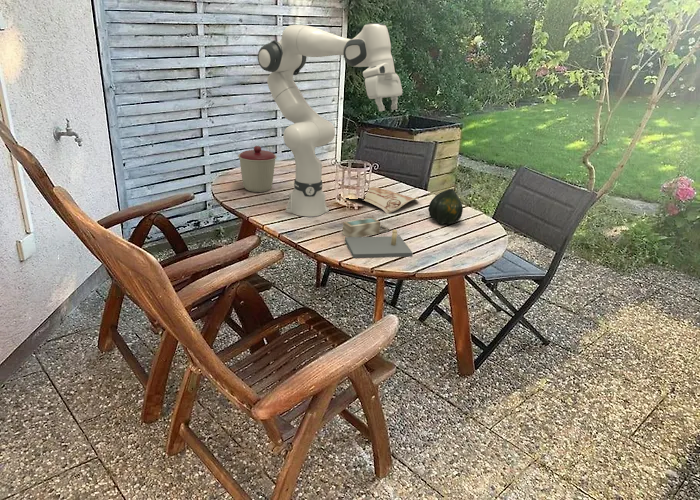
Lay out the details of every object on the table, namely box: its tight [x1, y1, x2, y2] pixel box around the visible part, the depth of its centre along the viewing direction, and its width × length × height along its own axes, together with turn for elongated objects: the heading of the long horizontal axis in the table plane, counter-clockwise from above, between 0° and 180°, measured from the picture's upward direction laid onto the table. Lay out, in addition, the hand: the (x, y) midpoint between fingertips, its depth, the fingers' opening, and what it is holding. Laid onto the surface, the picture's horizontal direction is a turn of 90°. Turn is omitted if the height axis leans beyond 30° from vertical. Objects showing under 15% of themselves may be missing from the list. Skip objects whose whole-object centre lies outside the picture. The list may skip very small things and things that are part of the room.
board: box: [344, 229, 414, 259], centre depth 196 cm, size 16×22×7 cm
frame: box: [342, 217, 390, 237], centre depth 211 cm, size 19×6×5 cm, turn 122°
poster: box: [363, 186, 419, 214], centre depth 252 cm, size 28×6×30 cm
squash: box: [427, 188, 464, 225], centre depth 228 cm, size 14×15×15 cm
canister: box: [237, 145, 278, 193], centre depth 252 cm, size 18×18×21 cm
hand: (388, 110), depth 190 cm, fingers open, 8 cm apart
